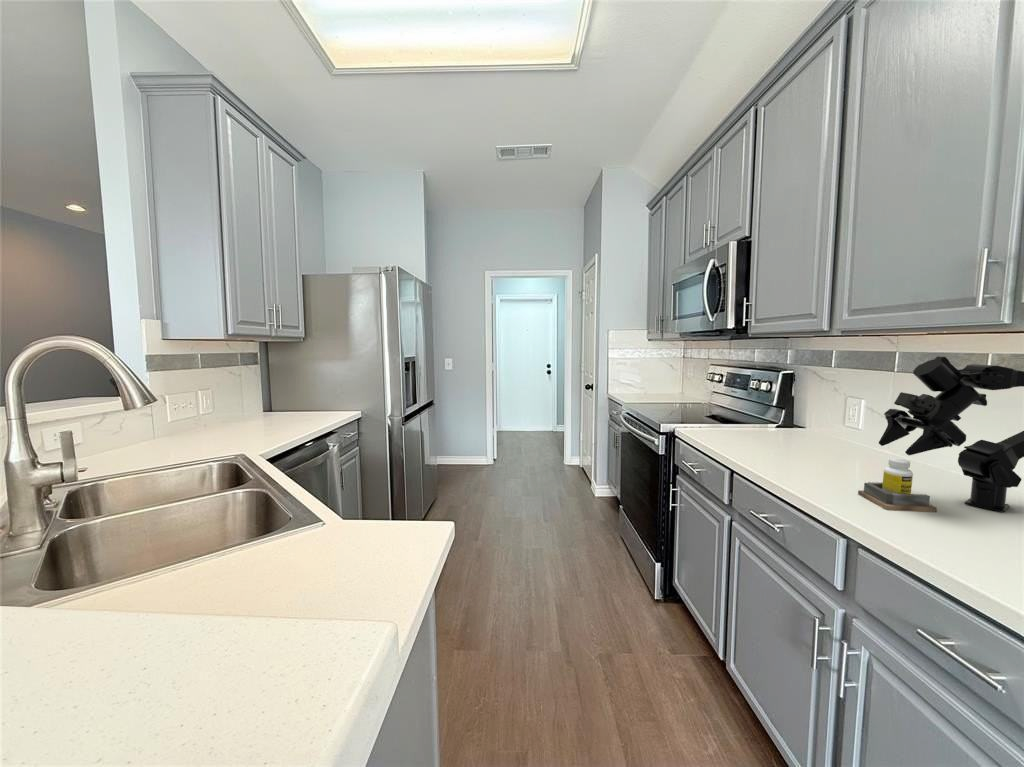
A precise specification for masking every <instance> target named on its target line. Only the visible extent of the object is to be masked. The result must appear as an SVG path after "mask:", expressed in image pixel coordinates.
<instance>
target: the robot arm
mask: <svg viewBox="0 0 1024 767" xmlns="http://www.w3.org/2000/svg"><path fill="white" fill-rule="evenodd" d="M912 373H913V375H914V376H915V377H916V378H917V379H918V380H919V381H921V383H922V384H923V385H925V387H926V388H928V389H929V390H930V391H931V392H934V393H935V392H939V393H938V394H937V395H936V396H935V397H934V396H933V395H930V394H926V393H922V394H921V395H916V394H913V393H907V392H903V391H901V392H899V394H898V396H897V398H896V399H895V401H894V402H893V403H894V405H895V406H900V407H903V408H905V409H907V412H906V410H902V409H897V408H889V409H888V410H886V411H885V412H884V413H883V415H884V417H885V420H886V422H887V426H886V428H885V430H884V432H883V434H882V436H881V438H880V439H879V441H878V444H879V445H880V447H883V446H886V445H888V444H891V443H893V442H895V441H897V440H900V439H902V438H904V437H906V436H909V435H910V434H911V432H913V431H915V430H916V429H921V430H923V431H922V434H921V435H920V436H919V437H918V438H917V439H916V440H915V441H914V442H913V443H912V444H911V445H910V446H909V447H908V448H907V449H906V450H905V451H904V452H905V454H906V455H907V456H913V455H918V454H920V453H921V454H922V453H924V452H929V451H932V450H938V449H941V448H942V449H943V448H947V447H949V448H952V447H953V446H957V447H960V446H961V445H963V444H964V443H965V442H966V441H967V434H966V433H965V432H964V431H962V429H960V428H959V427H958V426H957V424H956V423H955V421H956V422H959V421H960V420H961V419H962V417H961V416H960V414H961V413H963V412H964V411H966V409H968V408H969V407H970V406H972V405H977V406H982V407H986V406H988V400H987V394H985V393H980V392H978V390H976V389H980V390H987V391H998V390H1009V389H1013V388H1019V387H1024V370H1018V369H1015V368H1011V367H1006V366H1001V365H994V364H993V365H992V364H990V365H989V364H980V363H970V364H967V365H966V366H965V367H964V368H961V369H957V368H956V367H955V366H954V365H953V364H952V363H951V362H950V360H949V359H948V358H947V357H946V356H936V357H935V358H934V359H930V360H927V361H925V362H923V363H922V364H921V363H920V364H918V365H917V366H916V367H915V368H914V370H913V372H912ZM910 415H911V416H910ZM953 421H954V422H953ZM963 448H964V449H963V450H961V451H959V453H958V459H957V464H958V466H959V467H960V468H961V471H962V474H963V475H964V476H965V477H969V478H971V479H972V480H971V488H970V489H971V490H970V498H968V499H967V500H965V501H964V504H965V505H967V506H973V507H976V508H982V509H987V510H991V511H995V512H1001V513H1005V512H1006V511H1007V510H1008V509H1009V508H1010V507H1011V504H1009V503H1006V500H1007V489H1008V488H1009V489H1011V488H1018V487H1019V485H1020V483H1021V481H1022V478H1021V477H1020V475H1018V474H1017V473H1016V472H1015V471H1014V470H1015V469H1016V466H1017V464H1018V462H1019V460H1021V459H1022V458H1024V430H1022V431H1021V432H1018V433H1016V434H1014V435H1011V436H1009V437H1007V438H1005V439H1003V440H1001V441H999V442H993V441H988V440H985V439H980V440H977V441H976V442H974V443H973V444H970V445H967V446H963Z"/></svg>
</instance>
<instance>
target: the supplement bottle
mask: <svg viewBox="0 0 1024 767" xmlns="http://www.w3.org/2000/svg"><path fill="white" fill-rule="evenodd" d="M887 463H888V466H886V467H885V468H884V469H883V475H882V476H883V477H882V483H883V485H882V489H883V490H885V491H887V492H889V493H895V494H912V485H913V477H914V473H913V471H912V470H911V469H909V468H911V460H907V459H903V458H899V457H898V458H897V457H896V458H895V457H891V458H888V461H887Z"/></svg>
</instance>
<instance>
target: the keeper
mask: <svg viewBox="0 0 1024 767" xmlns="http://www.w3.org/2000/svg"><path fill="white" fill-rule="evenodd" d="M863 484H864V485H863V490H859V489H858V490H857V495H859V496H860V497H862V498H864V499H866V500H868V501H870V502H871V503H873V504H875V505H876V506H878V507H880V508H883V509H884V510H885V511H902V512H903V511H905V512H906V511H908V512H933V513H934V512H935V513H936V512H937V511H938V510H937V508H938V507H936V506H935V505H932V504H930V499H931V498H930V495H927V494H923V493H922V494H919V493H911V494H895V493H889V492H887V491H885V490H883V489H882V485H883V482H875V481H872V482H871V481H870V482H869V481H868V482H864V483H863Z"/></svg>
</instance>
